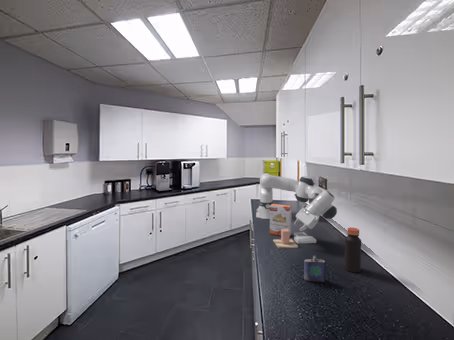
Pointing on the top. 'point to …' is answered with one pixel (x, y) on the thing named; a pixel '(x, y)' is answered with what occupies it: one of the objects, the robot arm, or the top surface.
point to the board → (283, 246)
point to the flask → (314, 269)
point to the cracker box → (280, 218)
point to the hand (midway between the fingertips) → (297, 227)
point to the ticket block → (285, 236)
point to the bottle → (353, 250)
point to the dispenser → (303, 238)
